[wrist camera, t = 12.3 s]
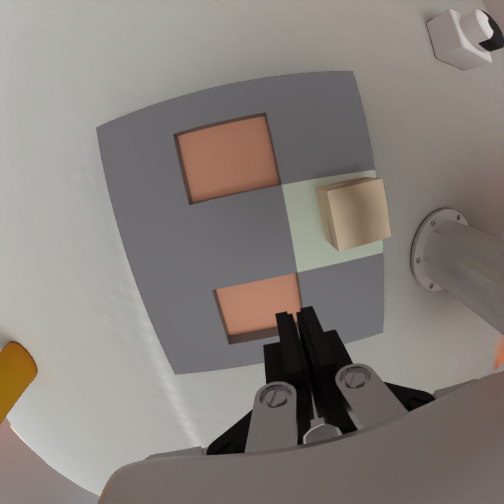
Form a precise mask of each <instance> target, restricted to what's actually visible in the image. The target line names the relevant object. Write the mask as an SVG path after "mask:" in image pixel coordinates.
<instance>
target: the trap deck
mask: <svg viewBox="0 0 504 504" xmlns="http://www.w3.org/2000/svg"><path fill="white" fill-rule="evenodd" d="M96 130H97V136H98V142H99V148H100V153H101V159H102V164H103V169H104V173H105V178H106V182H107V187H108V191H109V195H110V199H111V203H112V207H113V211H114V215H115V218H116V222H117V225H118V229H119V232H120V236H121V239H122V242H123V246H124V249H125V252H126V255H127V258H128V261H129V264H130V267H131V270H132V273H133V276H134V279H135V281H136V284H137V287H138V290H139V292H140V295H141V298H142V300H143V303H144V305H145V308H146V310H147V313H148V315H149V318H150V320H151V323H152V325H153V327H154V330H155V332H156V334H157V337H158V339H159V341H160V343H161V346H162V348H163V350H164V352H165V354H166V356H167V359H168V361H169V363H170V365H171V367H172V369H173V371H174V373H175V375H176V374H187V373H196V372H205V371H213V370H221V369H228V368H235V367H241V366H247V365H253V364H259V363H264V351H263V345H265V344H271V343H276V342H280V338H279V333H278V327H277V322H276V316H275V313H280V312H285V311H287V313H288V314H291V313H292V314H293V317H294V320H295V324H296V327H297V331H298V334H299V329H298V323H297V316H296V312H300V308H304V307H308V306H313V308H314V311H315V313H316V315H317V317H318V320H319V322H320V324H321V326H322V329H323V331H324V332H326V331H330V330H334V329H335V330H336V331H337V333H338V335H339V337H340V339H341V340H342V342H343V344H346V343H350V342H353V341H356V340H360V339H363V338H366V337H370V336H373V335H376V334H379V333H382V332H383V323H384V259H383V240H379V241H375V242H372V243H369V244H365V245H362V246H358V247H355V248H351V249H348V250H345V251H341V252H338V251H337V250H336V249H335V248H334V247H333V246H332V245H331V244H330V243H328V242H327V241H326V237H325V232H324V228H323V223H322V218H321V213H320V209H319V204H318V200H317V196H316V191H315V188H317V187H321V186H325V185H329V184H333V183H338V182H342V181H347V180H351V179H355V178H360V177H372V178H376V174H375V167H374V161H373V155H372V150H371V144H370V139H369V134H368V129H367V125H366V120H365V116H364V111H363V107H362V103H361V99H360V95H359V91H358V88H357V84H356V81H355V77H354V74H353V71H330V72H312V73H300V74H290V75H282V76H274V77H267V78H260V79H254V80H248V81H243V82H238V83H233V84H228V85H223V86H219V87H214V88H210V89H206V90H202V91H198V92H194V93H191V94H187V95H184V96H180V97H177V98H174V99H170V100H167V101H164V102H161V103H158V104H155V105H152V106H149V107H146V108H143V109H141V110H138V111H135V112H133V113H130V114H128V115H125V116H122V117H120V118H118V119H115V120H113V121H110V122H108V123H106V124H104V125H101V126H99V127H97V128H96ZM299 337H300V336H299Z"/></svg>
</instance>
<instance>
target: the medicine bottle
mask: <svg viewBox="0 0 504 504" xmlns="http://www.w3.org/2000/svg"><path fill="white" fill-rule="evenodd" d="M427 27H428V31H429V34H430V37H431V41H432V45H433V48H434V52H435V56H436V58H437V59H438V60H441V61H443V62H446V63H448V64H451V65H453V66H456V67H458V68H460V69H463V70H469V69H473V68H476V67H480V66H483V65H487V64H490V63H492V60H491V56H490V53H489V52H490V51H493V50H497V49H500V48H503V47H504V37H503V35H502V32H501V30H500V28H499V27H498V25H497V24H496V22H495V21H494V20H493V19H492V18H491V17H490V16H489V15H488V14H487V13H486V12H484V11H482V10H479V9H478V10H475V11H473V12H471V13H469V14H467V15H465V16H463V15H461V14H459V13H458V12H456V11H454V10H452V9H449V10H447V11H445V12H444V13H442V14H440V15H439V16H437V17H435V18H434V19H432V20H431V21H429V22H428V23H427Z"/></svg>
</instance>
